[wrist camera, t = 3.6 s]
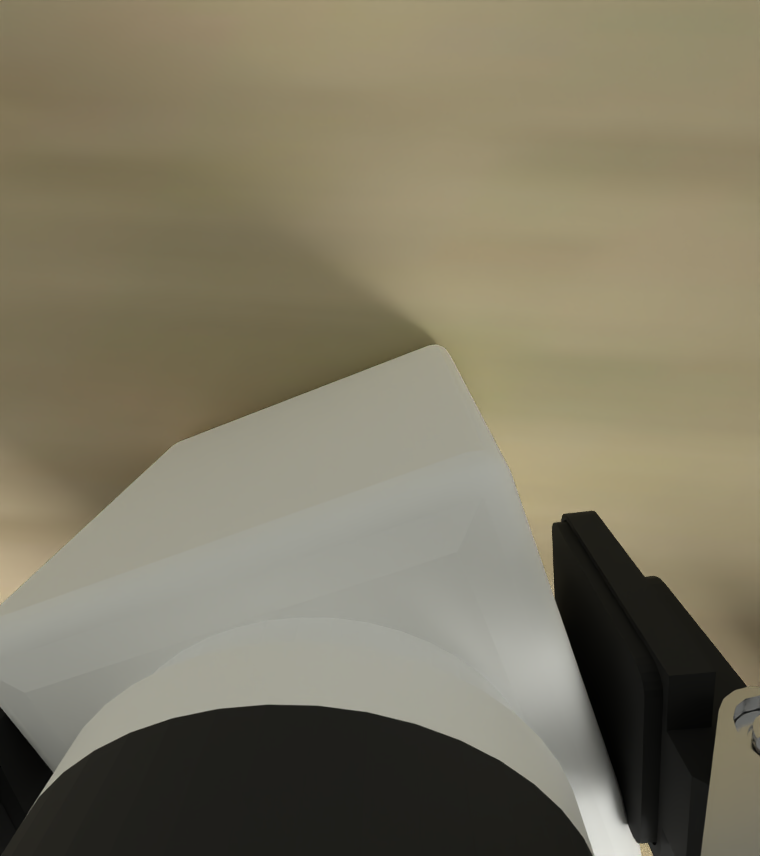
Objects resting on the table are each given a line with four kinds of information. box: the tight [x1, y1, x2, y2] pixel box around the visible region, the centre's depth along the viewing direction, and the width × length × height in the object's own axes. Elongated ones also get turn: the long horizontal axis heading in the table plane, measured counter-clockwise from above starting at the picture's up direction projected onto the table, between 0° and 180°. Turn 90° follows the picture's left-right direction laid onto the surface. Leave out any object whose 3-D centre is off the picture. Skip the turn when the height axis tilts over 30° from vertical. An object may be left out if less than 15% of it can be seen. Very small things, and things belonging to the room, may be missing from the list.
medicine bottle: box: [0, 344, 641, 856], centre depth 8 cm, size 7×7×12 cm
